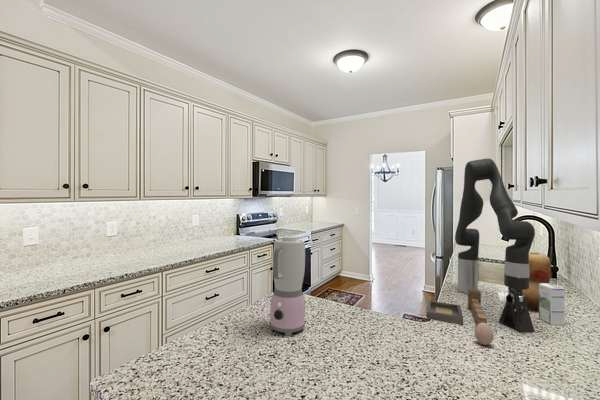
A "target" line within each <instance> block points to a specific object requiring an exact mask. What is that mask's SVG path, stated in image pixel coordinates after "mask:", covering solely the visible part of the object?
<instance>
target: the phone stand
mask: <svg viewBox="0 0 600 400" xmlns="http://www.w3.org/2000/svg"><path fill="white" fill-rule="evenodd" d="M524 296H525V295H524ZM511 297H512V296H511V295H508V294H507V295H506V296H505V304H504V306H503V309H502V313H501V315H500V317H499V320H498V323H499V324H501V325H503V326H505V327H507V328H510V329H512V330H513V331H515V332H517V333H535V328H534V324H533V321H532V317H531V314H530V311H529V308H528V307H527V298H526V296H525V298H526V299H525V313H523V323H521V322H518V321H517V317H516V322H515V311H514V305H513V304H512V300H513V299H514V298H513V297H512V298H511ZM514 302H515V299H514ZM515 303H516V302H515ZM518 309H521V307H520V306H518Z"/></svg>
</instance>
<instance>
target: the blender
mask: <svg viewBox="0 0 600 400" xmlns="http://www.w3.org/2000/svg"><path fill="white" fill-rule="evenodd" d="M305 268H306V242H305V240H302V239H298V238H297V236H291V235H287V236H282V238H281V239H275V240H274V242H273V252H272V274H273V281H274V290H273V293H272V296H271V297H270V307H269V308H270V309H269V311H270V314H269V315H270V316H269V317H270V318H269V319H270V320H269V330H270V331H271V332H274V331H276V332H279V333H284V336H285V337H291V336H292V335H293V333H295V332H299V331H301V330H303V329H304V328H305V325H306V320H305V319H306V315H305V314H306V298H305V295H304V292H303V290H302V288H303V283H304V277H305Z"/></svg>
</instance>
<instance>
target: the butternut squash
mask: <svg viewBox="0 0 600 400" xmlns="http://www.w3.org/2000/svg"><path fill="white" fill-rule="evenodd" d="M551 269H552V264H551V259H550V257H549V256H547V255H546V254H545V253H542V252H539V251H529V270H530V274H529V289H526V290H525V289H524V290H522V293H523V294H524V295H525V296H526V298H527V307H528V309H532V310H537V309H539V284H541V283H550V280H551V278H552V273H551V272H552V270H551Z"/></svg>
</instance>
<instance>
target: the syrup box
mask: <svg viewBox="0 0 600 400" xmlns="http://www.w3.org/2000/svg"><path fill="white" fill-rule="evenodd" d="M565 290H566V288H565V287H563V286H561V285H557V284H554V283H550V282H549V283H541V284H539V310H538V319H539V320H540V321H543V322H544V323H547V324H549V325H554V326H566V304H565V303H566V291H565Z"/></svg>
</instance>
